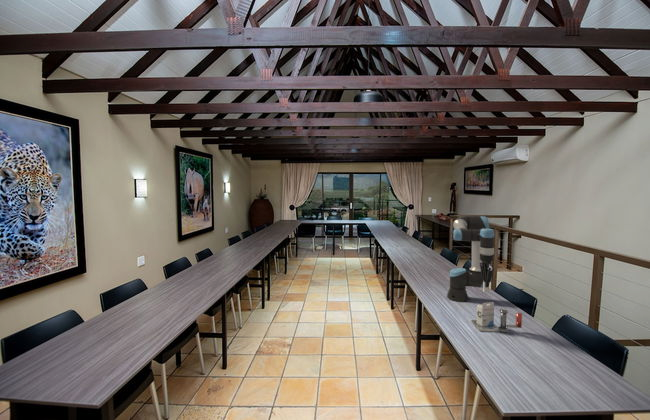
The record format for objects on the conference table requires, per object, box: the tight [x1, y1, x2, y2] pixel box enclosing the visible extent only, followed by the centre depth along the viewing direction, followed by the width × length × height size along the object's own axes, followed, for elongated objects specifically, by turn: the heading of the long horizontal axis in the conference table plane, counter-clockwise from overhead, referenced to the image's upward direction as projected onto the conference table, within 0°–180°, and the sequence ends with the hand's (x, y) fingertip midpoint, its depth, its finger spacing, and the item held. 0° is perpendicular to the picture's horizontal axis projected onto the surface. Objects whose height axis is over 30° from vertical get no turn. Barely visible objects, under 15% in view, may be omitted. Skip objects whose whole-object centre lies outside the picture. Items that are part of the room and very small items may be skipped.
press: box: [470, 308, 509, 334], centre depth 181 cm, size 14×16×13 cm
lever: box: [506, 312, 523, 329], centre depth 176 cm, size 3×8×8 cm, turn 87°
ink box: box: [476, 301, 495, 327], centre depth 182 cm, size 9×5×15 cm, turn 102°
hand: (485, 291), depth 181 cm, fingers closed
